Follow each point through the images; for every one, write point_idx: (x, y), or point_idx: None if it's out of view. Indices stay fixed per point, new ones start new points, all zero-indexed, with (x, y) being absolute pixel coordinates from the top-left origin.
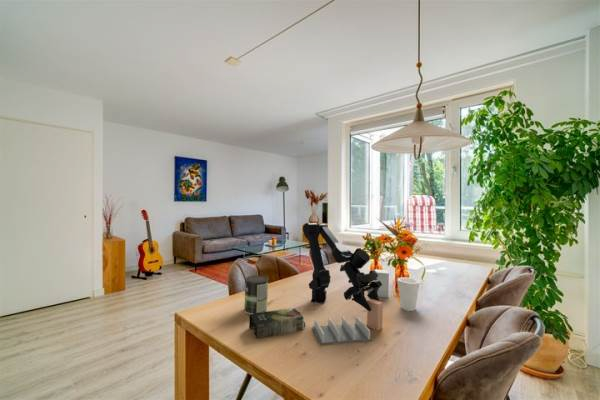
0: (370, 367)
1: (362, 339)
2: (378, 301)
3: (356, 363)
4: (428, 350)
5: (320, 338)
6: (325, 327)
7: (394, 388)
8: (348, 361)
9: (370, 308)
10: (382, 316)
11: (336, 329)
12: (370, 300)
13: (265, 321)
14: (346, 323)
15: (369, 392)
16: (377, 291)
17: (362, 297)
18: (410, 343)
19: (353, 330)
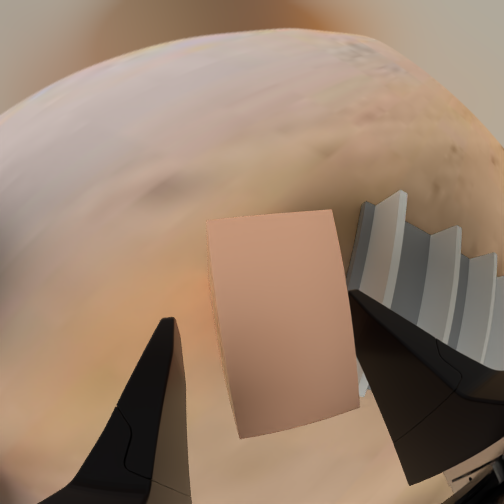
0: (431, 121)
1: (405, 221)
2: (226, 301)
3: (454, 152)
4: (196, 58)
5: (496, 305)
6: None
7: (409, 66)
8: (467, 171)
9: (360, 297)
10: (207, 260)
11: (495, 281)
12: (321, 394)
13: None
14: (447, 327)
15: (450, 94)
16: (59, 492)
17: (489, 371)
18: (210, 102)
19: (459, 237)
